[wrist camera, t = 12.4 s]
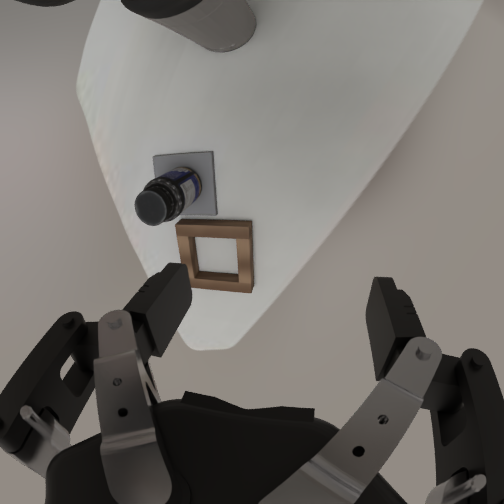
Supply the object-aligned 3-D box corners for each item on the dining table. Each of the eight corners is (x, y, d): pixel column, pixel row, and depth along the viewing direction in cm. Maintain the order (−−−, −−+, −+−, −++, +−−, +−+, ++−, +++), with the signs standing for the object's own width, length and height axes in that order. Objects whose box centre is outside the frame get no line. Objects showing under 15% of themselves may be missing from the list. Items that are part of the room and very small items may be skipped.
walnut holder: (181, 218, 45) (175, 224, 43) (251, 220, 43) (248, 227, 41) (190, 279, 51) (185, 286, 49) (253, 285, 49) (251, 293, 46)
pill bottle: (161, 187, 42) (122, 211, 33) (179, 158, 39) (141, 174, 30) (190, 210, 43) (157, 240, 34) (210, 182, 40) (180, 205, 31)
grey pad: (155, 155, 41) (152, 156, 40) (213, 151, 39) (211, 152, 38) (162, 213, 45) (160, 214, 45) (217, 213, 44) (215, 215, 43)
